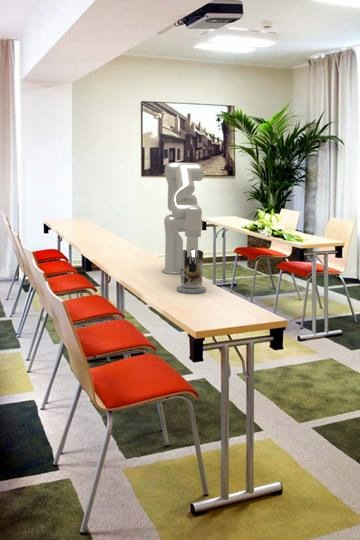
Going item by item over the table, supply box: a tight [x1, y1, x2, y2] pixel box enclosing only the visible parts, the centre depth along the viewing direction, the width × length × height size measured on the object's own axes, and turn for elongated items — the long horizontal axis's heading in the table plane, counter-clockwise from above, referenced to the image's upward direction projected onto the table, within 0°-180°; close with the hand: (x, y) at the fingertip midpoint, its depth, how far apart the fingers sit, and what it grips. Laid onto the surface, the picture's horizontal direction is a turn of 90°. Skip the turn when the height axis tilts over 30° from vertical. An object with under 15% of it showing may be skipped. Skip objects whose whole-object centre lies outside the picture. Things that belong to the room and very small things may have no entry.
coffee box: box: [180, 249, 204, 286], centre depth 292 cm, size 9×6×16 cm
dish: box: [176, 284, 207, 295], centre depth 294 cm, size 14×14×2 cm
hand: (191, 269), depth 292 cm, fingers closed on coffee box, 7 cm apart
